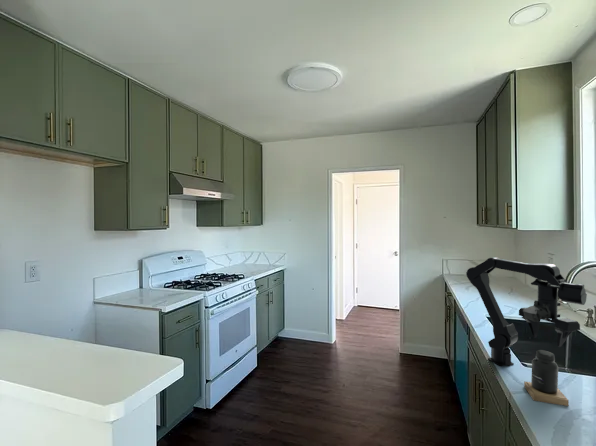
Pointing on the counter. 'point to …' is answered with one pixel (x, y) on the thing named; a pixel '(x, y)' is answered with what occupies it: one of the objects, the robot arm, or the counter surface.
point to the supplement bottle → (544, 372)
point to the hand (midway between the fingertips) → (546, 341)
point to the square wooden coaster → (546, 396)
